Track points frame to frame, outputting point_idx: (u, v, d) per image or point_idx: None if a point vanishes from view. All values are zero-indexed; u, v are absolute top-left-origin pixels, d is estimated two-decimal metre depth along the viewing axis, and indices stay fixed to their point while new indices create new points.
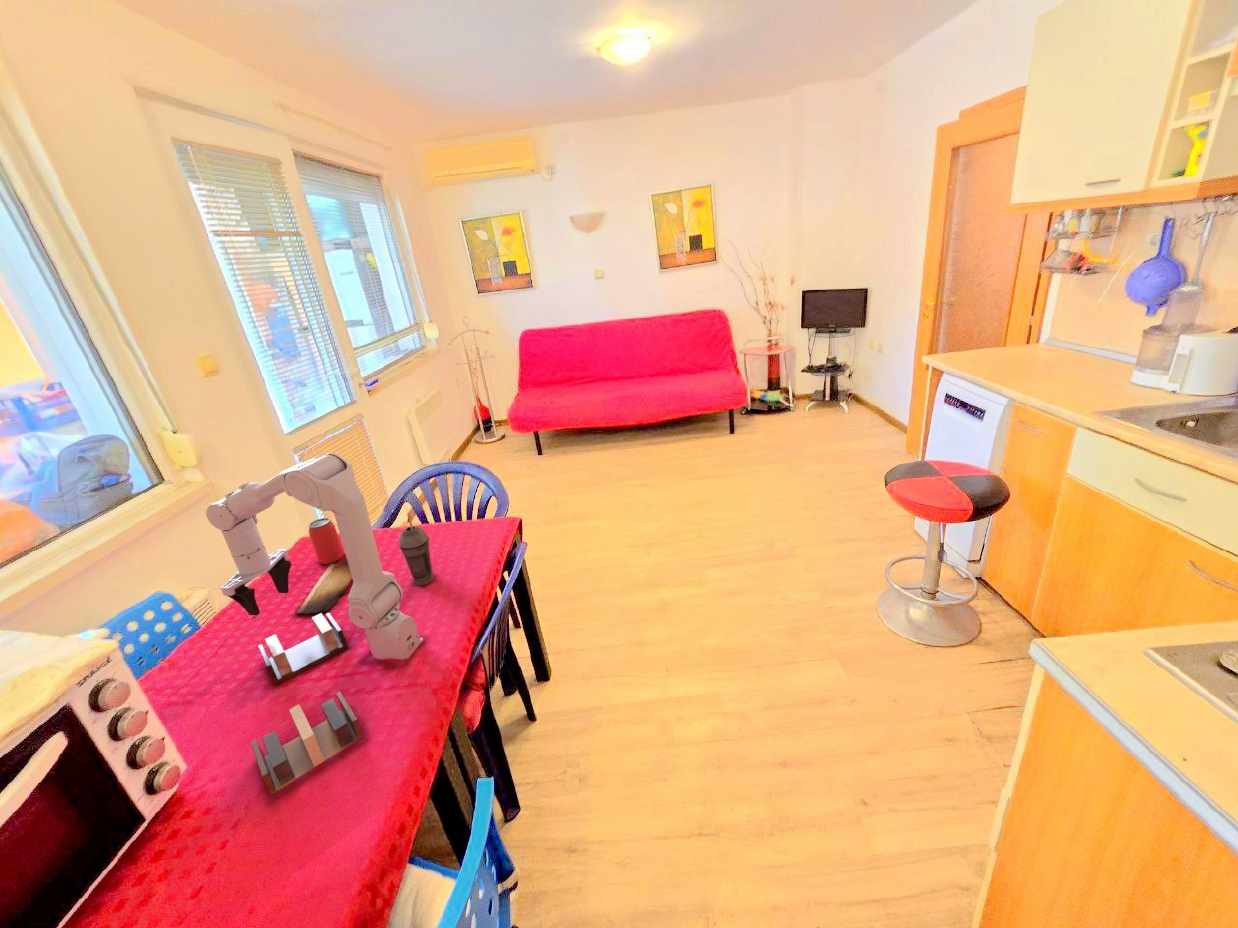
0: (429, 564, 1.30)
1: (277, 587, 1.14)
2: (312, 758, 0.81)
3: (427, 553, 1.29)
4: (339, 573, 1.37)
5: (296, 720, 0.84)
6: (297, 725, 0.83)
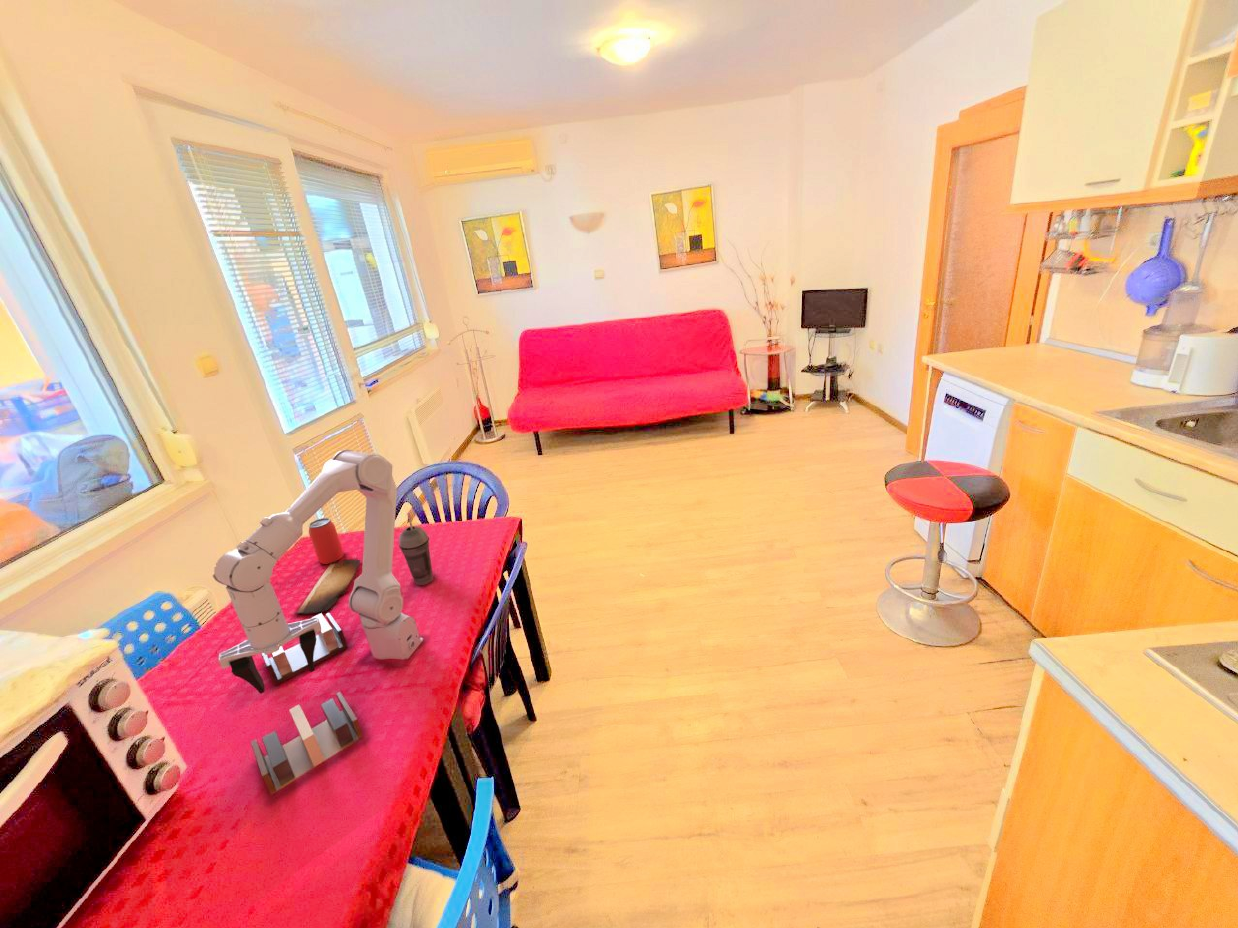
0: (429, 564, 1.30)
1: (261, 685, 0.86)
2: (312, 758, 0.81)
3: (427, 553, 1.29)
4: (339, 573, 1.37)
5: (296, 720, 0.84)
6: (297, 725, 0.83)
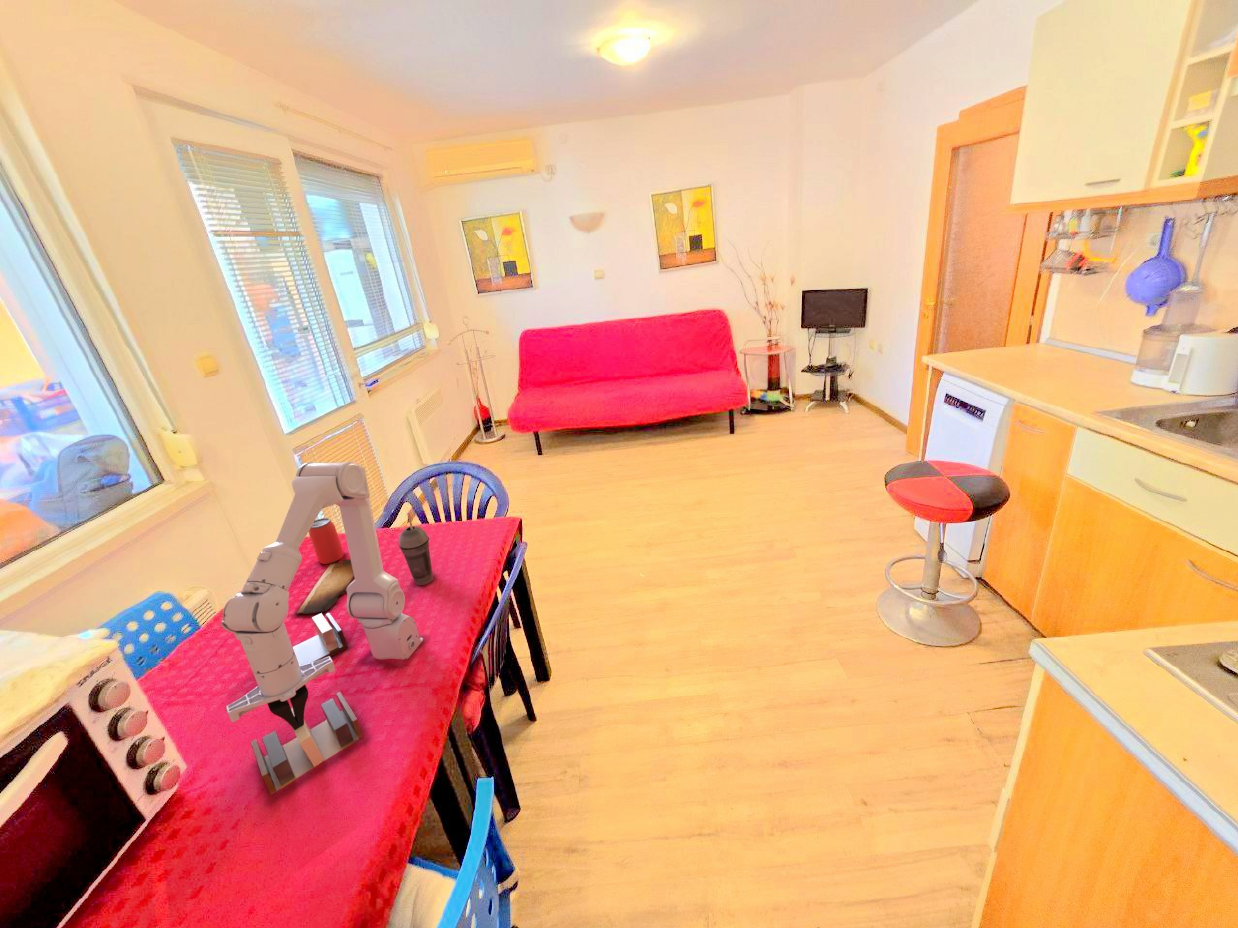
0: (429, 564, 1.30)
1: (297, 722, 0.82)
2: (311, 759, 0.81)
3: (427, 553, 1.29)
4: (339, 573, 1.37)
5: None
6: None
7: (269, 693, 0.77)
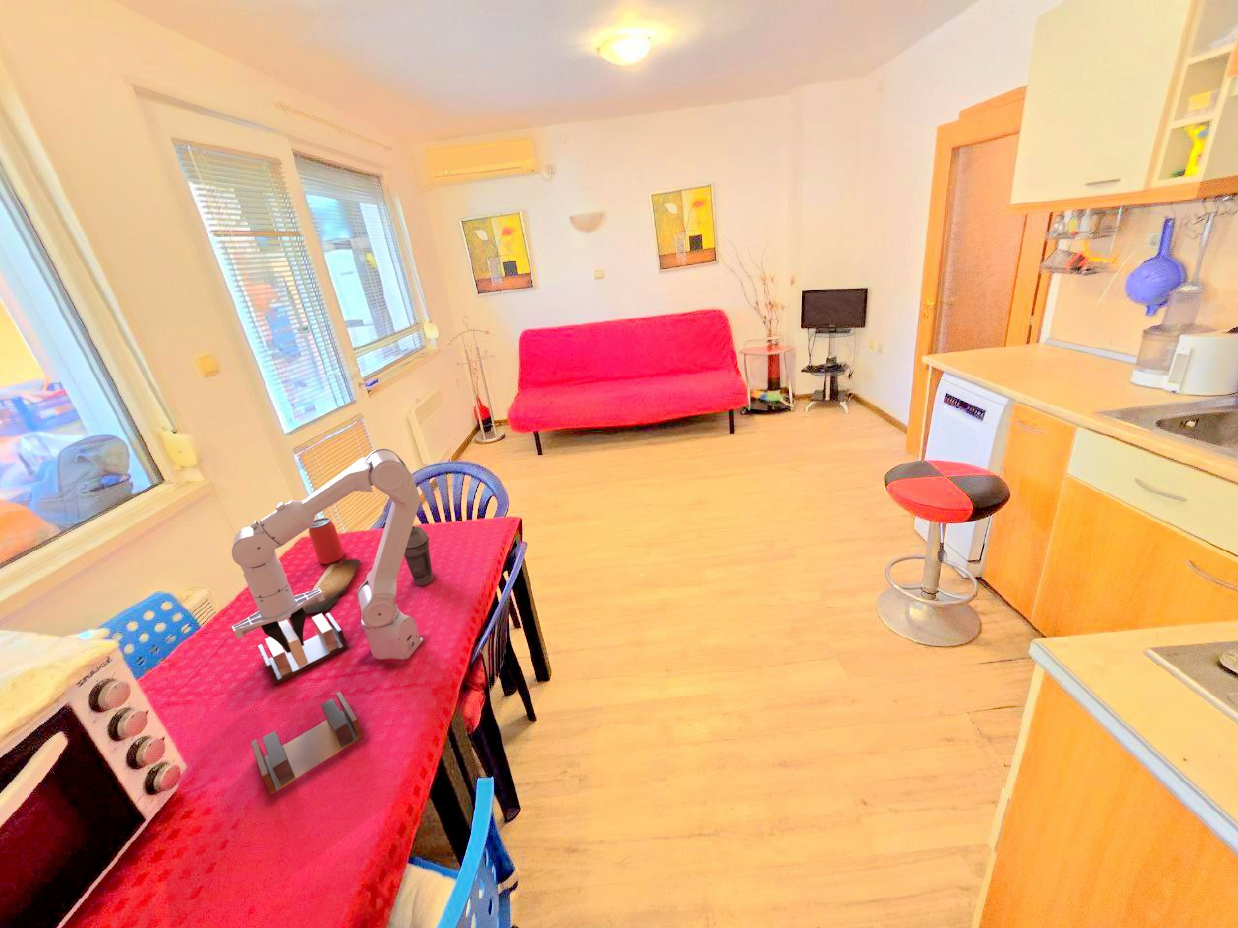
0: (429, 564, 1.30)
1: (288, 645, 0.96)
2: (297, 660, 0.94)
3: (427, 553, 1.29)
4: (339, 573, 1.37)
5: (283, 629, 0.96)
6: (284, 633, 0.95)
7: (268, 615, 0.91)
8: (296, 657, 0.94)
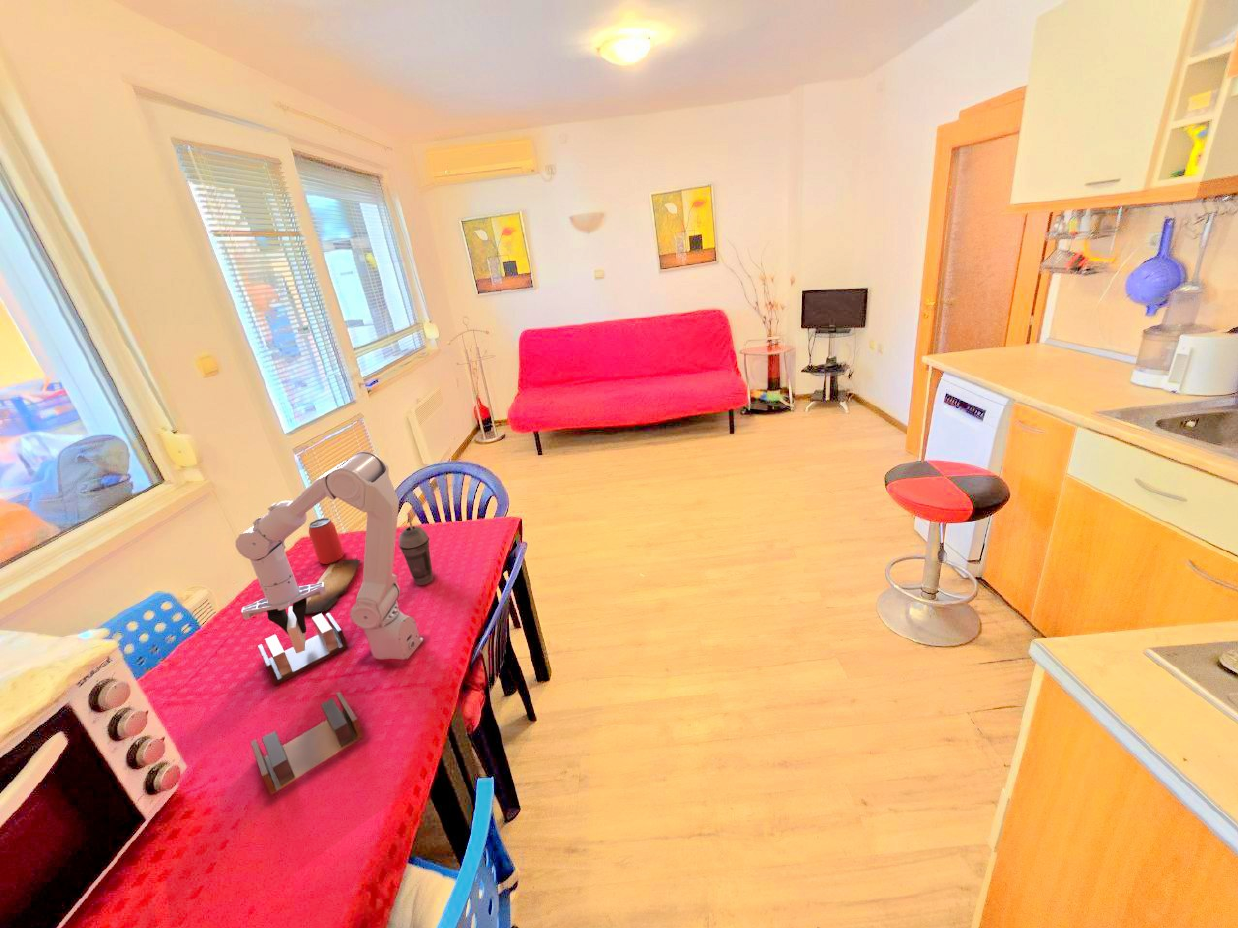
0: (429, 564, 1.30)
1: None
2: (294, 646, 1.02)
3: (427, 553, 1.29)
4: (339, 573, 1.37)
5: (289, 615, 1.05)
6: (288, 619, 1.04)
7: (271, 602, 1.00)
8: (293, 643, 1.02)
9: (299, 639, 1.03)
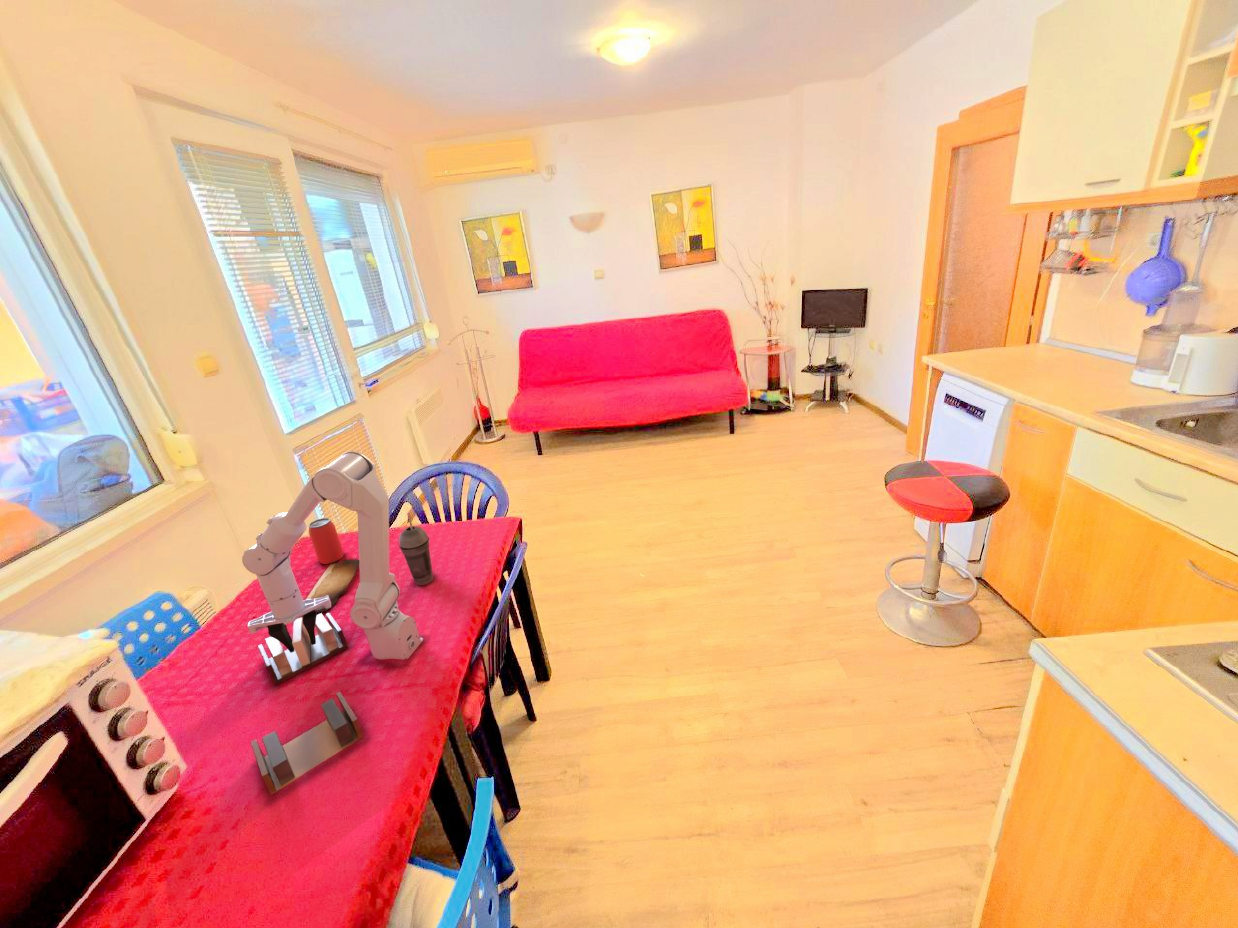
0: (429, 564, 1.30)
1: (291, 645, 1.05)
2: (299, 659, 1.04)
3: (427, 553, 1.29)
4: (339, 573, 1.37)
5: (294, 628, 1.07)
6: (293, 632, 1.05)
7: (277, 617, 1.01)
8: (298, 656, 1.03)
9: (304, 652, 1.04)
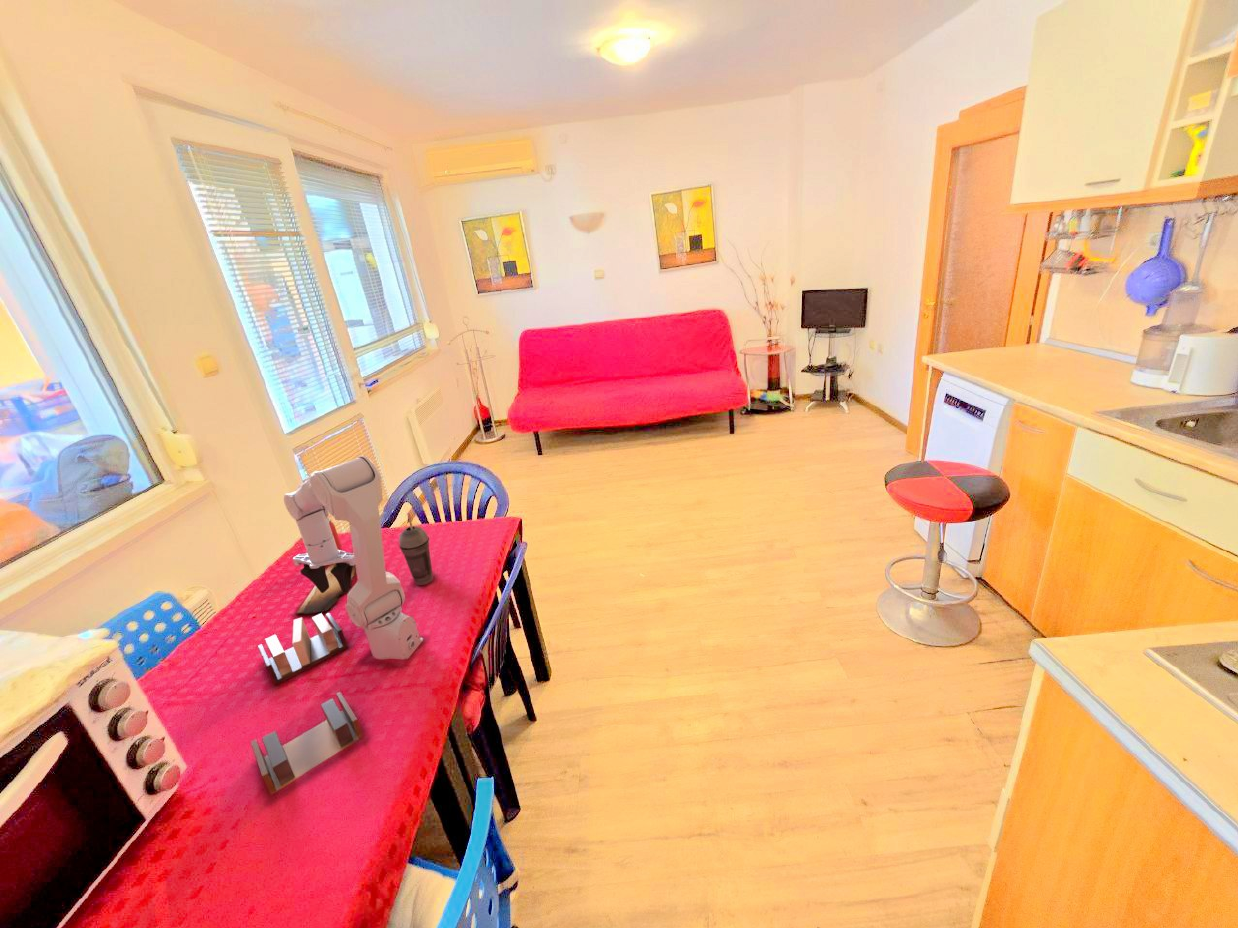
0: (429, 564, 1.30)
1: (321, 587, 1.15)
2: (299, 659, 1.04)
3: (427, 553, 1.29)
4: None
5: (294, 628, 1.07)
6: (293, 632, 1.05)
7: (309, 559, 1.11)
8: (298, 656, 1.03)
9: (304, 652, 1.04)
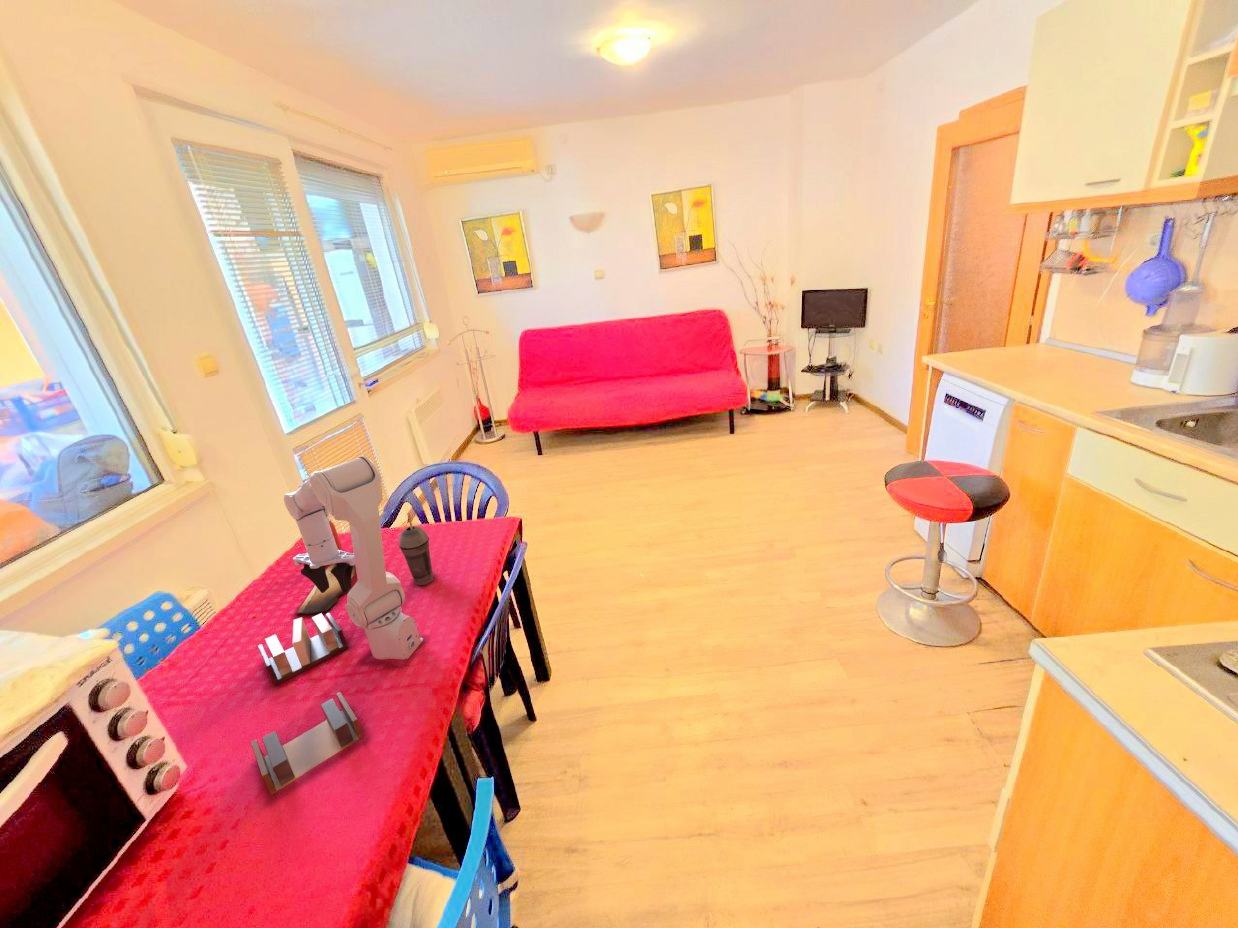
0: (429, 564, 1.30)
1: (321, 587, 1.15)
2: (299, 659, 1.04)
3: (427, 553, 1.29)
4: None
5: (294, 628, 1.07)
6: (293, 632, 1.05)
7: (309, 559, 1.11)
8: (298, 656, 1.03)
9: (304, 652, 1.04)
